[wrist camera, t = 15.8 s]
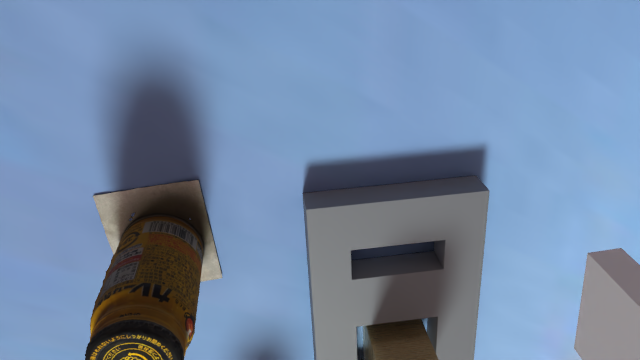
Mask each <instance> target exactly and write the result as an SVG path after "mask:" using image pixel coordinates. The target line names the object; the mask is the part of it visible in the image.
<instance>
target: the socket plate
mask: <svg viewBox="0 0 640 360" xmlns="http://www.w3.org/2000/svg"><path fill="white" fill-rule="evenodd" d="M488 200H489V190H488V188H487V187H486V186H485V185H484V184H483V183H482V182H481V180H480V179H479V178H478V177H477V176H467V177H457V178H447V179H437V180H427V181H417V182H408V183H398V184H388V185H378V186H368V187H358V188H348V189H339V190H329V191H319V192H309V193H303V205H304V219H305V233H306V247H307V261H308V275H309V289H310V303H311V317H312V331H313V345H314V359H315V360H357V334H356V327H357V326H365V325H373V324H381V323H390V322H398V321H406V320H414V319H422V318H428V322H427V334H428V336H429V339H430V341H431V343H432V346H433V348H434V350H435V353H436V355H437V357H438V360H474V350H475V339H476V328H477V318H478V307H479V296H480V286H481V275H482V264H483V254H484V243H485V232H486V222H487V211H488ZM431 241H434V251H430V252H421V253H412V254H403V255H394V256H386V257H377V258H368V259H359V260H351V250H359V249H368V248H377V247H386V246H395V245H404V244H413V243H422V242H431Z"/></svg>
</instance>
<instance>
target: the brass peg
mask: <svg viewBox="0 0 640 360" xmlns="http://www.w3.org/2000/svg"><path fill="white" fill-rule="evenodd" d="M363 354H364V359H365V360H438V357H437V355H436V353H435V350H434V348H433V346H432V343H431V341H430V339H429V336H428V334H427V332H426V330H425V327H424V325H423V323H422V320H421V319H414V320H406V321H398V322H390V323H381V324H373V325H365V326H363Z"/></svg>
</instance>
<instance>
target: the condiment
mask: <svg viewBox="0 0 640 360" xmlns="http://www.w3.org/2000/svg"><path fill="white" fill-rule="evenodd" d="M93 197H94V200H95V203H96V207H97V209H98V212H99V215H100V218H101V222H102V224H103V226H104V229H105V233H106V236H107V238H108V241H109V244H110V246H111V249H112V252H113V254H114V255H113V258H112V260H111V264H110V266H109V268H108V270H107V271H106V276H105V279H104V280H103V286H102V288H101V290H100V293H99V295H98V297H97V299H96V301H95V306H94V309H93V314H92V317H91V324H90V330H91V337H90V342H89V344H88V346H87V350H86V354H85V356H86V358H85V360H184V356H185V352H186V349H187V348H188V346H189V344H190V343H191V340H192V338H193V335H194V329H195V321H196V312H197V304H198V297H199V288H200V281H207V280H214V279H219V278H222V274H221V270H220V266H219V261H218V257H217V254H216V249H215V244H214V241H213V236H212V233H211V228H210V225H209V221H208V217H207V213H206V208H205V204H204V200H203V197H202V193H201V189H200V184H199V180H194V181H188V182H186V181H184V182H178V183H170V184H164V185H156V186H150V187H144V188H135V189H132V190H127V191H120V192H112V193H108V194H102V195H96V196H93ZM132 213H135V215H134V216H133V217H132V216H131V215H132ZM130 218H132V220H131V221H129V219H130ZM189 218H191V220H189Z"/></svg>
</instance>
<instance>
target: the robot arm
mask: <svg viewBox="0 0 640 360" xmlns="http://www.w3.org/2000/svg"><path fill="white" fill-rule="evenodd" d="M574 349H575V350H576V352H577V353H578V354H579V356H580V357H581V358H582V360H640V265H639V264H638V263H637V262H636V261H635V260H634V259H632V258H631V257H630V256H629V255H628V254H627V253H626V252H625V251H624V250H623V249H622V248H619V249H612V250H605V251H598V252H591V253H588V255H587V262H586V269H585V275H584V282H583V289H582V296H581V303H580V310H579V317H578V324H577V331H576V338H575V345H574Z"/></svg>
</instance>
